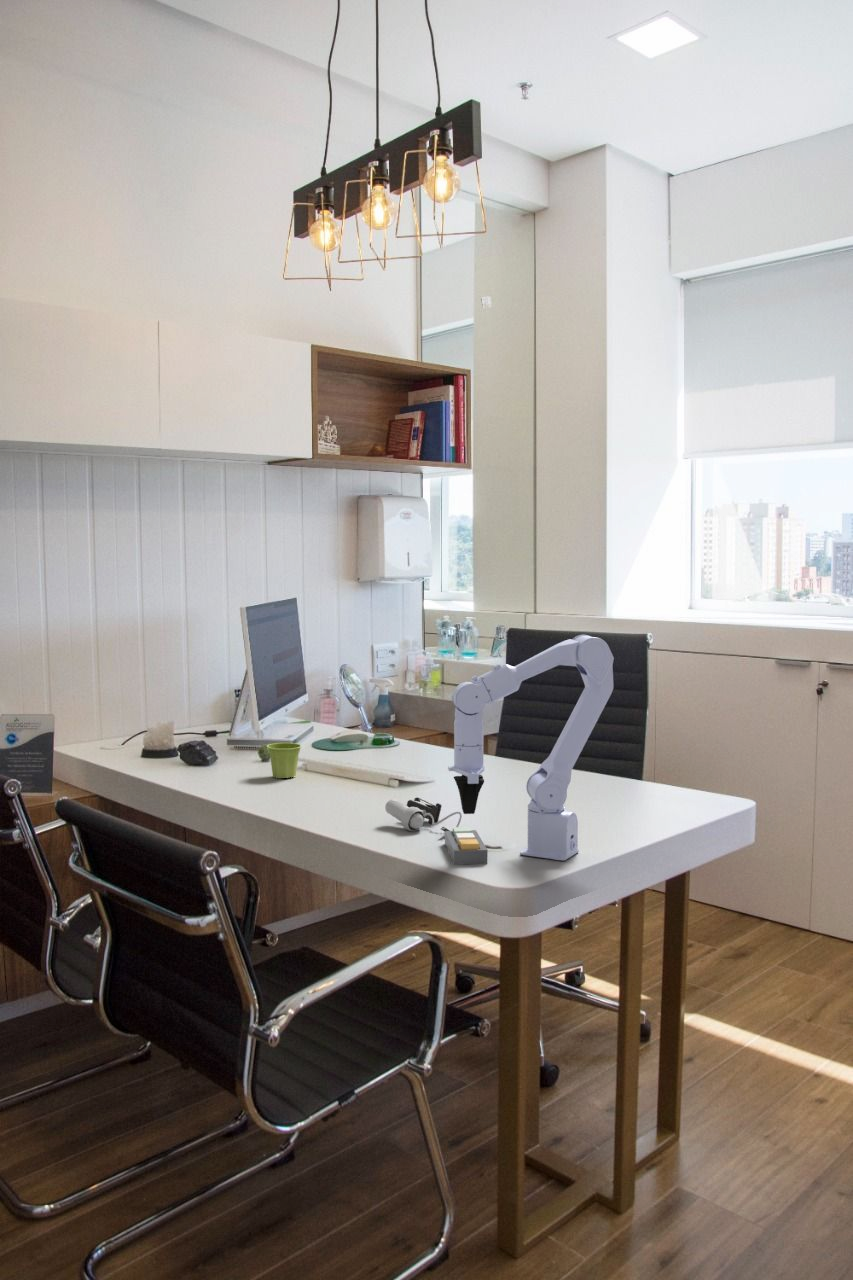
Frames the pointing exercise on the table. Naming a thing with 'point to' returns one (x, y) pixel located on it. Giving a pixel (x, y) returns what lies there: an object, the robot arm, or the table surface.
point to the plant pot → (284, 759)
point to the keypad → (465, 855)
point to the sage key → (461, 830)
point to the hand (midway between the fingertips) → (468, 813)
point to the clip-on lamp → (416, 813)
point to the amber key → (468, 844)
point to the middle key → (464, 836)
